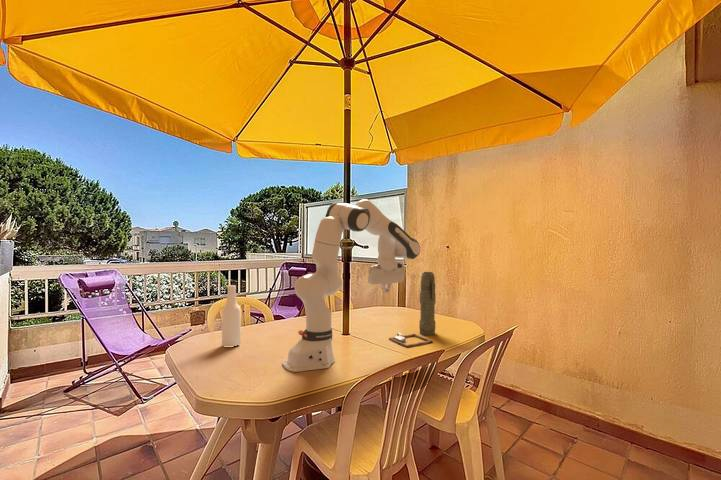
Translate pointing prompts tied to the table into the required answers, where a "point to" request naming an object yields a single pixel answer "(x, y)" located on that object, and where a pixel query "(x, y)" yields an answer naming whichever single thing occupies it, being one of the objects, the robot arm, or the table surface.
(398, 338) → the lighter
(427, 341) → the frame
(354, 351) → the table surface
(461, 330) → the table surface
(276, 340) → the table surface
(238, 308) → the alcohol
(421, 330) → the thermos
